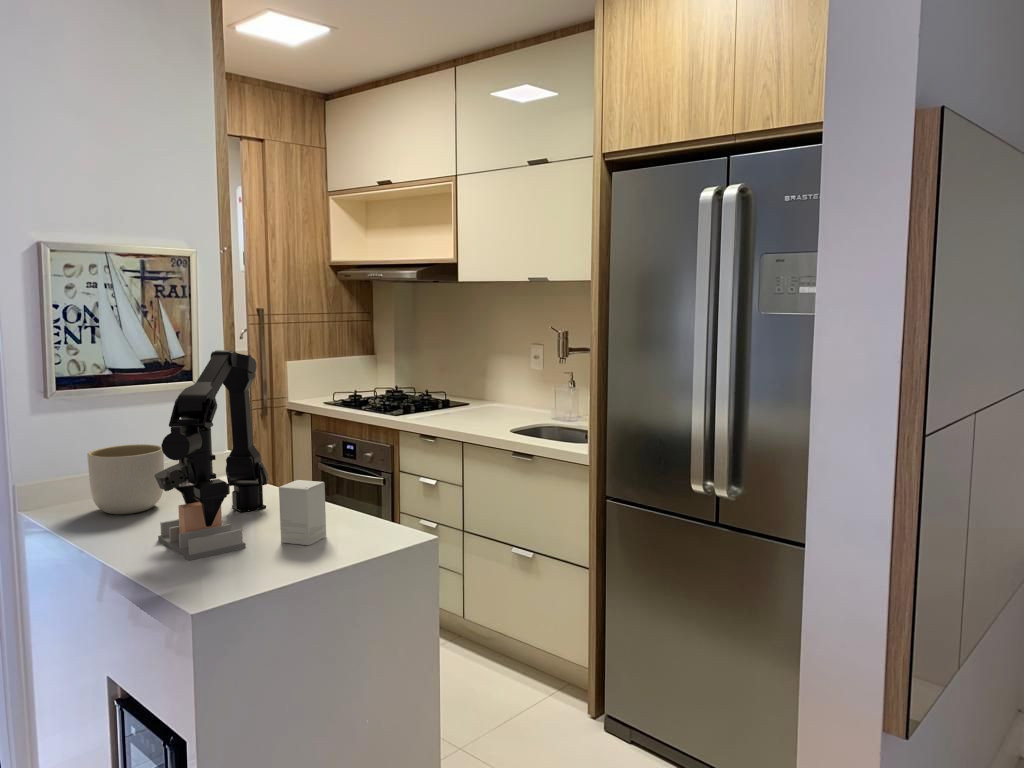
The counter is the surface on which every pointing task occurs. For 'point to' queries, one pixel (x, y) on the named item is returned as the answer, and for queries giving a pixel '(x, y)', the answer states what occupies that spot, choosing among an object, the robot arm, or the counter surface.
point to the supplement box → (302, 512)
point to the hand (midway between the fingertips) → (200, 521)
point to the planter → (125, 477)
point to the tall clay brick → (195, 517)
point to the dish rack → (200, 540)
